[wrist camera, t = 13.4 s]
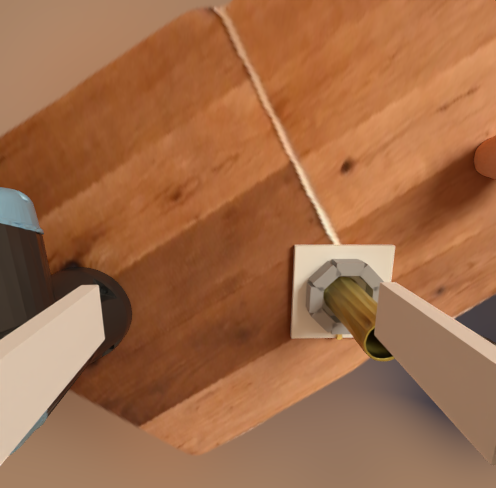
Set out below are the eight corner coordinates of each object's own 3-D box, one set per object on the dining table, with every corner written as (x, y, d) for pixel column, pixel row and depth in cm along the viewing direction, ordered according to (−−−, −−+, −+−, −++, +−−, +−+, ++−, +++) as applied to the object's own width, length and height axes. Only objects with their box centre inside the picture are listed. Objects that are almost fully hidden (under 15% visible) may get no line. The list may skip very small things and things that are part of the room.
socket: (290, 335, 49) (294, 347, 46) (294, 244, 45) (298, 250, 42) (381, 333, 50) (392, 345, 46) (392, 244, 46) (404, 249, 43)
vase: (315, 294, 46) (349, 342, 32) (343, 268, 46) (390, 306, 32) (339, 318, 48) (382, 374, 34) (367, 293, 47) (422, 341, 33)
